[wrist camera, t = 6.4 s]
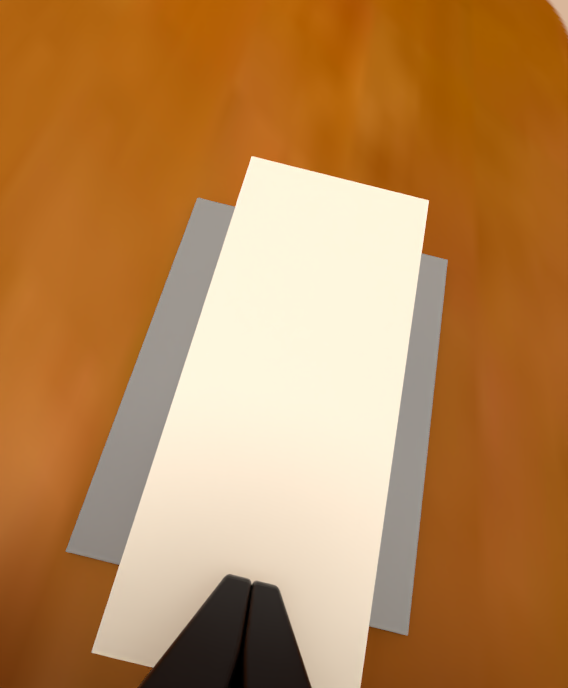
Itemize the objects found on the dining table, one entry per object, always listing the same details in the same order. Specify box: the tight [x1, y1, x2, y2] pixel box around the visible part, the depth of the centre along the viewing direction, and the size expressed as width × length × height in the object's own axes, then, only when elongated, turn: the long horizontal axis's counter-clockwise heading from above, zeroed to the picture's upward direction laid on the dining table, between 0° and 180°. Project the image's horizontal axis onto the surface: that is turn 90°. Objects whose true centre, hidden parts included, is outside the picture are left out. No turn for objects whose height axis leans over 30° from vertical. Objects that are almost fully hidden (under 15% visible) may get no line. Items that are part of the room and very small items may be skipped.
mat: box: [66, 198, 448, 636], centre depth 17 cm, size 13×10×1 cm
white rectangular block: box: [91, 156, 429, 688], centre depth 14 cm, size 5×5×12 cm
